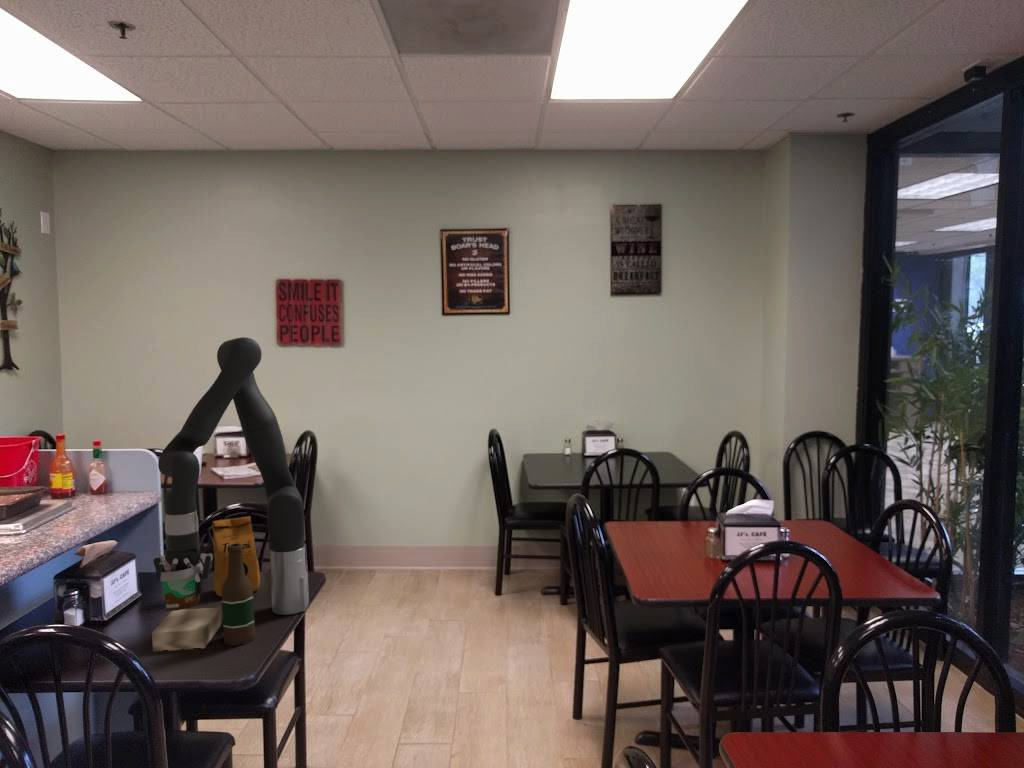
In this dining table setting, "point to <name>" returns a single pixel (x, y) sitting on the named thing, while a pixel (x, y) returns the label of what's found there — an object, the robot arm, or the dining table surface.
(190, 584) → the food container
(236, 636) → the beer bottle
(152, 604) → the dining table surface
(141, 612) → the dining table surface
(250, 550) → the coffee package
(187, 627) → the birch block
